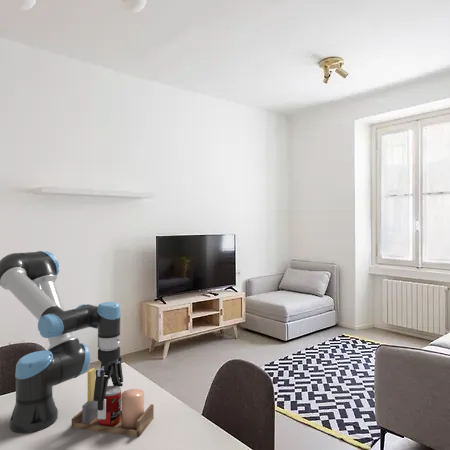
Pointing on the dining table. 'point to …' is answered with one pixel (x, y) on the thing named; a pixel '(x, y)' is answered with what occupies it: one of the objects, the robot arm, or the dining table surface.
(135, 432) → the brown wooden tray
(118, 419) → the canned food
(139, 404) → the peach rounded capsule
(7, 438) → the dining table surface
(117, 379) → the robot arm
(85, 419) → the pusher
